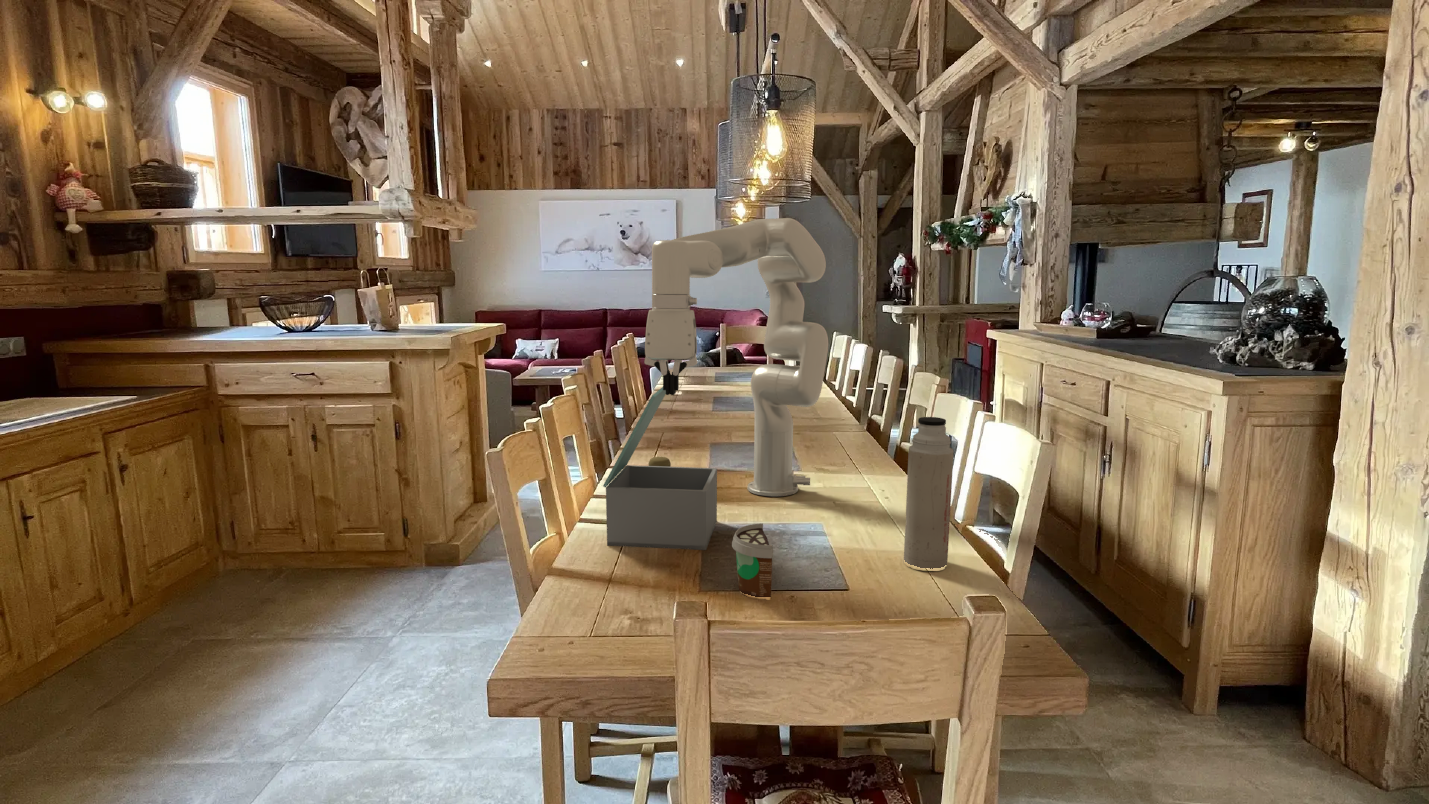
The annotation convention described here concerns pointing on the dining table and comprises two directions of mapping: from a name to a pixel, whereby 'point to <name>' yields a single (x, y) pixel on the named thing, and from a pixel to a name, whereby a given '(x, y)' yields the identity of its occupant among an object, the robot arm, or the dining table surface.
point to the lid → (636, 434)
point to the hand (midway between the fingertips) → (670, 393)
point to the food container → (753, 560)
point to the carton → (662, 507)
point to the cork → (659, 461)
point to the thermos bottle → (928, 495)
